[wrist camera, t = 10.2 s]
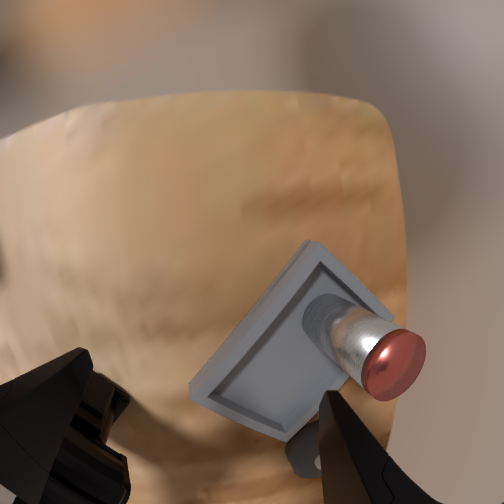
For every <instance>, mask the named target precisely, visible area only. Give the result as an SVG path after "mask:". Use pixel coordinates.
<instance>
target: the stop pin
mask: <svg viewBox="0 0 504 504" xmlns="http://www.w3.org/2000/svg"><path fill="white" fill-rule="evenodd" d="M302 327H303V330H304V332H305V334H306V335H307V336H308V337H309V338H310V339H311V340H312V341H313V342H314V343H315V344H316V345H317V346H318V347H319V348H320V349H321V350H323V351H324V352H325V353H326V354H327V355H328V356H329V357H330V358H331V359H332V360H333V361H334V362H335V363H337V364H338V365H339V366H340V367H341V368H342V369H343V370H344V371H345V372H346V373H347V374H348V375H350V376H351V377H352V378H353V379H354V380H355V381H356V382H357V383H358V384H359V385H361V386H362V387H363V388H364V389H365V390H366V391H367V392H368V393H369V394H370V395H372V396H373V397H374V398H375V399H376V400H379V401H389V400H392V399H394V398H396V397H398V396H400V395H401V394H402V393H404V392H405V391H406V390H407V389H408V388H409V387H410V386H411V385H412V384H413V382H414V381H415V380H416V378H417V377H418V375H419V373H420V371H421V369H422V367H423V364H424V360H425V356H426V346H425V342H424V340H423V339H422V338H421V337H420V336H419V335H417V334H415V333H413V332H411V331H409V330H407V329H405V328H403V327H401V326H399V325H397V324H395V323H393V322H391V321H388V320H386V319H384V318H382V317H380V316H378V315H376V314H374V313H372V312H370V311H368V310H366V309H364V308H362V307H360V306H358V305H356V304H354V303H352V302H350V301H348V300H346V299H344V298H342V297H340V296H338V295H336V294H331V293H327V294H322V295H320V296H318V297H316V298H315V299H313V300H312V301H311V302H310V303H309V305H308V306H307V307H306V309H305V311H304V314H303V318H302Z"/></svg>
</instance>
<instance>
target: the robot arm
mask: <svg viewBox="0 0 504 504" xmlns="http://www.w3.org/2000/svg"><path fill="white" fill-rule="evenodd" d="M92 370H93V362H92V360H91V357H90V354H89V351H88V350H87V349H84V348H81V347H78V348H76V349H74V350H72V351H70V352H68V353H66V354H64V355H62V356H60V357H58V358H56V359H54V360H52V361H49V362H47V363H45V364H43V365H41V366H39V367H37V368H35V369H33V370H31V371H29V372H27V373H25V374H23V375H21V376H19V377H17V378H15V379H14V380H11V381H9V382H7V383H4V384H2V385H0V504H126V503H127V501H128V499H129V496H130V491H131V484H130V478H129V471H128V464H127V457H126V456H124V455H123V454H119V453H117V452H116V451H114V450H113V449H111V448H110V447H108V446H107V445H106V442H107V438H108V435H109V432H110V428H111V426H112V424H113V423H114V422H115V421H116V419H117V418H118V417H119V416H120V414H121V413H122V412H123V410H124V409H125V408H126V407H127V405H128V404H129V402H130V397H129V396H128V395H127V394H125V393H124V392H122V391H121V390H119V389H118V388H116V387H115V386H113V385H112V384H110V383H109V382H107V381H106V380H104V379H103V378H102V377H100V376H99V375H97V374H96V373H95V372H93V371H92ZM123 398H125V399H126V400H124V399H123ZM319 454H320V464H321V474H322V485H323V497H324V504H443V503H440V502H438V501H436V500H434V499H433V498H431V497H430V496H429V495H428V494H427V493H425V491H423V490H422V489H421V488H420V487H419V486H418V485H417V484H416V483H415V482H413V481H412V480H411V479H410V478H409V477H408V476H407V475H406V474H405V473H404V472H403V471H402V470H401V468H400V467H399V466H398V465H397V464H396V463H395V462H394V460H393V459H392V458H391V457H390V456H388V453H387V452H386V451H385V449H384V448H383V447H382V446H381V444H380V443H379V442H378V441H377V440H376V438H375V437H374V436H373V435H372V433H371V432H370V431H369V430H368V428H367V427H366V426H365V425H364V423H363V422H362V421H361V420H360V418H359V417H358V416H357V415H356V413H355V412H354V411H353V410H352V408H351V407H350V406H349V404H348V403H347V402H346V401H345V399H344V398H343V397H342V396H341V394H340V393H339V392H338V391H337V390H326V391H325V393H324V395H323V397H322V400H321V402H320V405H319ZM501 504H504V502H503V503H501Z"/></svg>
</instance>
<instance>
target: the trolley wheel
mask: <svg viewBox="0 0 504 504" xmlns="http://www.w3.org/2000/svg"><path fill="white" fill-rule="evenodd" d="M285 452H286V456H287V458H288V460H289V462H290V464H291V466H292V468H293V470H294V472H295V474H296V475H297V476H299V477H302V478H318V477H322V474H321V464H320V454H319V420H317V421H314V422H312V423H310V424H308V425H306V426H305V427H303V428H302V429H300V430H299V431H298V432H297V433H296V434H295V435H293V436H292V437H291V439H290V440H289V442H288V443H287V446H286V450H285Z"/></svg>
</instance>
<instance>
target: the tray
mask: <svg viewBox="0 0 504 504" xmlns="http://www.w3.org/2000/svg"><path fill="white" fill-rule="evenodd" d="M327 293H331V294H336V295H338V296H340V297H342V298H344V299H346V300H348V301H350V302H352V303H354V304H356V305H358V306H360V307H362V308H364V309H366V310H368V311H370V312H372V313H374V314H376V315H378V316H380V317H382V318H384V319H386V320H388V321H391V322H392V320H393V319H394V317H395V316H394V315H393V314H392V313H391V312H390V311H389V310H388V309H387V308H386V307H385V306H384V305H383V304H382V303H381V302H380V301H379V300H378V299H377V298H376V297H375V296H374V295H373V294H372V293H371V292H370V291H369V290H368V289H367V288H366V287H365V286H364V285H363V284H362V283H361V282H360V281H359V280H358V279H357V278H356V277H355V276H354V275H353V274H352V273H351V272H350V271H349V270H348V269H347V268H346V267H345V266H344V265H343V264H342V263H341V262H340V261H339V260H338V259H337V258H336V257H335V256H333V255H332V254H331V253H330V252H329V251H328V250H327V249H326V248H325V247H324V246H323V245H322V244H321V243H320V242H316V241H310V240H306V241H305V242H304V243H303V244H302V246H301V247H300V248H299V250H298V251H297V252H296V254H295V255H294V256H293V257H292V259H291V260H290V261H289V263H288V264H287V265H286V266H285V268H284V269H283V270H282V272H281V273H280V274H279V275H278V277H277V278H276V279H275V280H274V282H273V283H272V284H271V285H270V287H269V288H268V289H267V290H266V292H265V293H264V294H263V295H262V297H261V298H260V299H259V300H258V302H257V303H256V304H255V305H254V307H253V308H252V309H251V310H250V312H249V313H248V314H247V315H246V316H245V318H244V319H243V320H242V321H241V323H240V324H239V325H238V326H237V327H236V329H235V330H234V331H233V332H232V333H231V335H230V336H229V337H228V338H227V339H226V341H225V342H224V343H223V344H222V345H221V347H220V348H219V349H218V350H217V351H216V353H215V354H214V355H213V356H212V357H211V358H210V360H209V361H208V362H207V363H206V364H205V365H204V367H203V368H202V369H201V370H200V371H199V372H198V374H197V375H196V376H195V377H194V378H193V379H192V381H191V382H190V383H189V392H190V400H192V401H194V402H196V403H198V404H200V405H202V406H204V407H206V408H208V409H210V410H212V411H214V412H216V413H218V414H220V415H222V416H224V417H226V418H228V419H230V420H232V421H235V422H237V423H239V424H241V425H244V426H246V427H248V428H251V429H253V430H255V431H258V432H260V433H263V434H265V435H268V436H271V437H273V438H276V439H278V440H281V441H284V442H287V441H288V440H289V439H290V438H291V437H292V436H293V435H295V434H296V433H297V432H298V431H299V430H300V429H301V428H302V427H303V426H304V425H305V424H306V423H307V422H308V421H309V420H310V419H311V418H312V417H313V416H314V415H315V414H316V413H317V412H318V411H319V405H320V402H321V400H322V397H323V395H324V393H325V391H326V390H338V389H339V388H340V387H341V386H342V385H343V384H344V382H345V381H346V380H347V379H348V378H349V377H350V375H348V374H347V373H346V372H345V371H344V370H343V369H342V368H341V367H340V366H339V365H338V364H337V363H335V362H334V361H333V360H332V359H331V358H330V357H329V356H328V355H327V354H326V353H325V352H324V351H323V350H321V349H320V348H319V347H318V346H317V345H316V344H315V343H314V342H313V341H312V340H311V339H310V338H309V337H308V336H307V335H306V334H305V332H304V330H303V327H302V318H303V314H304V311H305V309H306V307H307V306H308V305H309V303H310V302H311V301H312V300H313V299H315V298H316V297H318V296H320V295H322V294H327Z"/></svg>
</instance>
